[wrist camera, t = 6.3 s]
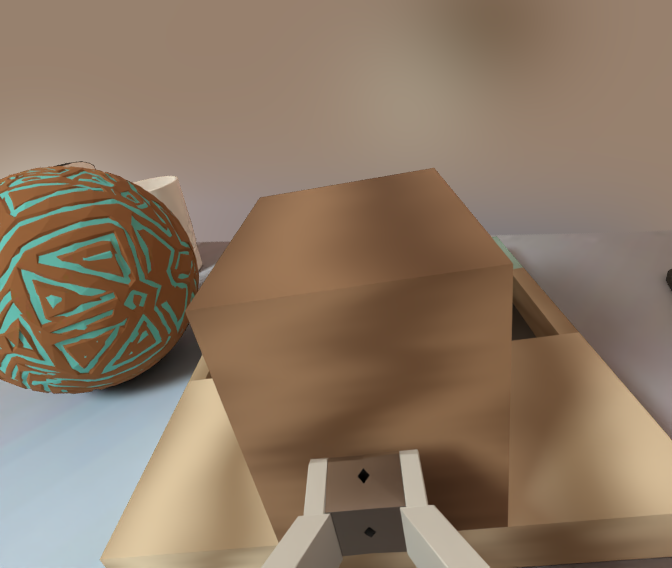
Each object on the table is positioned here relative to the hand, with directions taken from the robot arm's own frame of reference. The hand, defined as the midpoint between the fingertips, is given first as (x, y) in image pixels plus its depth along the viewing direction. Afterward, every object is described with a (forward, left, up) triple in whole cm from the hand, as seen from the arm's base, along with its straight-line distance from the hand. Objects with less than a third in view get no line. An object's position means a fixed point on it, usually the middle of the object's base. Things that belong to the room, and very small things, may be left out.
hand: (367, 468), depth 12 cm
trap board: (0, +13, -7) cm, 15 cm away
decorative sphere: (-19, +17, -8) cm, 26 cm away
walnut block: (0, +6, -5) cm, 8 cm away
